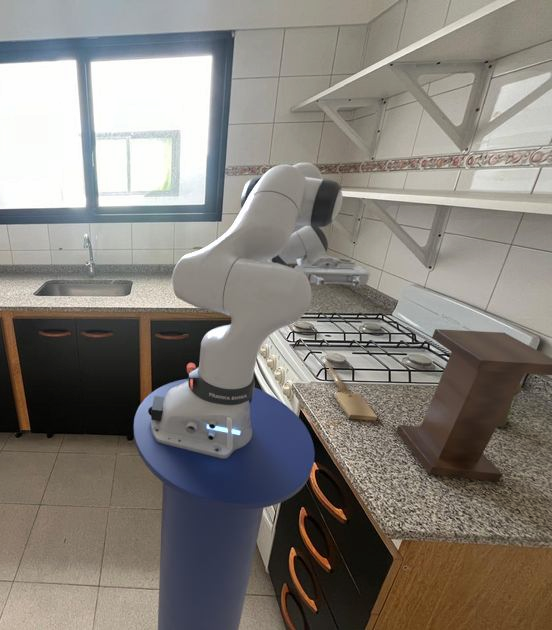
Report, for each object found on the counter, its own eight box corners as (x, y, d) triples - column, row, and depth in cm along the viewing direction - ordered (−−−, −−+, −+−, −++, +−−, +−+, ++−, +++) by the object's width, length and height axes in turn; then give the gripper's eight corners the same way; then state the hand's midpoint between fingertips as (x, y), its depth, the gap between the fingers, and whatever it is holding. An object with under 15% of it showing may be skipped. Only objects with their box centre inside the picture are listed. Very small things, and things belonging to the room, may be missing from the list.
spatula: (348, 418, 82) (350, 413, 82) (315, 367, 103) (317, 363, 102) (375, 420, 82) (377, 415, 81) (337, 369, 102) (338, 364, 102)
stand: (429, 474, 68) (481, 360, 57) (396, 431, 78) (435, 328, 68) (498, 481, 66) (566, 365, 55) (455, 436, 77) (504, 332, 66)
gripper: (289, 259, 110) (302, 271, 98) (358, 260, 107) (381, 273, 95) (286, 277, 113) (298, 292, 100) (353, 280, 110) (374, 295, 97)
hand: (339, 283), depth 97 cm, fingers open, 8 cm apart
